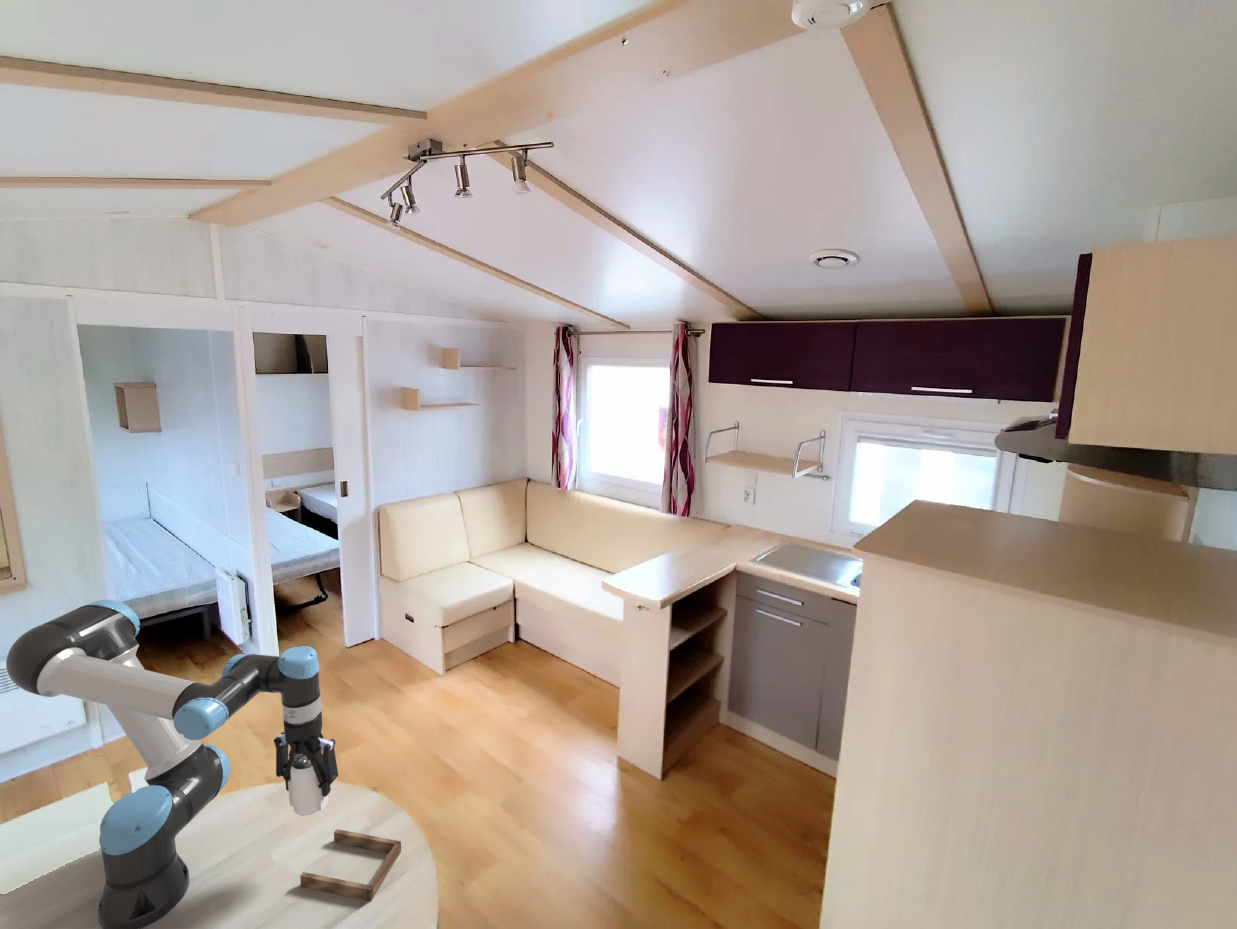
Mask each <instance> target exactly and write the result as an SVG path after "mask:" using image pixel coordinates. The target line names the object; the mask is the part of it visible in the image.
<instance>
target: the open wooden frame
mask: <svg viewBox="0 0 1237 929" xmlns="http://www.w3.org/2000/svg"><path fill="white" fill-rule="evenodd" d="M333 840H334V841H333V842H334V843H335V844H339V845H344V846H350V847H355V848H361V849H366V850H370V851H376V852H381V853H386V854H387V856H386V858H385V859H384V860H383V862H382V863H381V866H380V867H379V869H378V870H377V872H376V874H375V875H374V877H373V878H372V880H371V881H370V883H369V884H364V883H359V882H354V881H350V880H345V879H340V878H336V877H335V878H334V877H330V876H326V875H325V876H324V875H320V874H315V873H310V872H307V871H303V872H302V873H301V874H300V876H299V880H300V887H301V888H305V889H309V890H315V891H319V892H323V893H329V894H333V895H336V896H342V897H346V898H353V899H358V900H362V901H367V902H372V900H373V898H374V897H375V895H376V894H377V892H378V890H379V889H380V888H381V885H382V884H383V882H384V881H385V879H386V877H387V875H389V872H390V871H391V869H392V868H393V866H394V864H395V863H396V861H397V860H398V858H399V856H400V855H401V853H402V841H401V840H395V839H390V838H387V837H386V838H385V837H380V836H376V835H370V834H365V833H359V832H354V831H348V830H344V829H337V828H336V829H335V830H334V832H333Z"/></svg>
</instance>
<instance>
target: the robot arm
mask: <svg viewBox="0 0 1237 929" xmlns="http://www.w3.org/2000/svg"><path fill="white" fill-rule="evenodd" d="M140 625H141V622H140V619H139V617H138V615H137V614H136V612H135V611H134V610H133V609H132V608H131V607H130V606H128V605H127V604H125V603H123V602H121V601H115V600H113V599H100V600H95V601H94V602H91V603H88V604H84V605H82V606H79V607H77V608H76V609H74V610H71V611H70V612H66V613H64V614H63V615H60V616H58V617H56V618H54V619H51V620H49V621H48V622H45V623H43V624H38V625H37V626H35V627H32V628H31V629H28V631H26V632H24V633H23V634H22V635H21V636H19V637H18V638H17V639H16V640H15V642H13V644H12V645H11V647H10V649H9V650H8V653H7V655H6V661H5V665H6V666H5V667H6V672H7V675H8V677H9V678H10V680H11V681H12V682H13V683H14V684H15V686H17V687H18V688H20V689H22V690H24V691H26V692H28V693H31V694H33V695H37V696H42V697H45V698H54V697H57V696H60V695H62V696H63V695H64V696H68V697H72V698H76V699H81V700H84V701H88V702H92V703H98V704H102V705H106V707H107V708H108V710H110V713H111V714H112V716H113V717H114V718H115V720H116V721H117V723H118V724H119V726H120V728H121V729H122V731H123V732H124V733H125V735H126V737H127V738H128V740H129V741H130V742H131V744H132V745H133V747H134V749H135V750H136V751H137V753H138V754H139V757H141V759H142V760H143V763H145V765H146V766H147V770H146V772H145V775H144V777H143V779H144V781H145V782H146V784H147V785H146V786H142V787H139V788H138V789H136V791H134V792H128V793H126V794H125V795H124V796H122V797H120V798H119V799H118V800H116V801H115V802H114V803H113V804H112V805H111V806H110V807H109V809H108V810H107V811H106V812H105V814H104V815H103V818H102V820H101V821H100V826H99V840H98V841H99V842H98V843H99V847H100V850H101V856H102V862H103V870H104V876H105V877H104V878H105V885H104V888H103V893H102V897H101V899H100V901H99V904H98V908H97V909H98V910H97V912H98V914H97V915H98V921H99V925H100V926H101V928H103V929H138V928H139V929H141V928H144V927H146V926H148V925H150V924H152V923H154V922H156V921H158V919H161V918H163V917H164V916H165V915H167V914H168V913H169V912H170V911H171V910H172V909H174V908H175V907H176V906H177V905H178V904H179V903H180V902H181V900H182V899H183V898H184V896H185V894H186V893H187V891H188V889H189V885H190V873H189V872H190V871H189V868H188V865H186V863H185V862H184V860H183V859H182V857H181V856H180V855H179V854H178V852H177V846H176V845H177V844H176V838H177V835H179V833H180V832H181V831H182V830H183V829H184V828H185V827H186V826H187V825H188V824H189V823H191V821H192V820H193V819H194V818H195V817H196V816H197V815H198V814H199V813H200V812H201V811H202V810H203V809H204V808H206V806H207V805H208V804H209V803H211V802H212V801H213V800H214V799H215V798H216V797H217V796H218V795H219V793H220V792H221V791H222V790H223V788H224V787H225V786H226V785H227V783H228V781H229V778H230V775H231V765H230V764H231V763H230V760H229V757H228V756H227V754H226V753H225V752H224V751H223V750H222V749H221V748H220V747H218V748H217V746H216V745H214V744H208V743H207V744H204V743H203V742H202V741H201V740H202V739H205V738H206V737H208V736H209V735H211V734H212V733H214V732H215V731H216V730H217V729H219V728H221V727H222V726H223V725H224V724H225V723H226V722H227V721H228V720H229V719H230V718H231V717H232V716H234V715H235V714H236V713H237V712H238V711H240V709H242V707H244V706H245V705H246V704H247V703H249V702H250V701H251V700H253V699H254V698H255V697H256V696H257V695H258V694H260V693H272V694H275V693H276V694H280V696H281V697H280V698H281V705H282V706H281V707H282V717H283V731H282V732H280V734H278V736H276V737H275V738H274V739H273V743H274V746H275V775H276V777H279V778H280V777H283V780H284V781H285V782H284V783H285V790H286V791H287V792H288V800H289V807H293V799H292V787H291V774H290V770H291V767H292V763H294V762H295V761H296V760H297V759H298V758H299V757H300V755H301V754H304V755H306V757H307V759H308V760H310V761H311V764H312V766H313V769H314V771H315V773H316V776H317V778H318V781H319V784H318V785H317V799H318V811H320V812H322V811H323V810H324V808H325V807H326V806H327V805H328V804H329V801H330V800H329V794H330V793H331V791H332V789H331V785H332V784H333V783H334V782H335V780H336V779H337V778H339V770H338V765H337V759H336V751H335V746H336V740H335V739H334V738H331V739H330V740H328V739H326V738H324V736H323V733H322V730H323V716H322V714H323V713H322V697H321V688H320V664H319V661H318V653H317V651H316V650H315V649H314V648H313V647H312V646H308V645H300V646H293V647H290V648H288V649H286V650H283V651H282V652H281V653H280V654H279V655H277V656H276V655H265V654H259V653H258V654H256V653H247V654H246V653H242V654H241V653H240V654H236V655H234V656H232V657H231V658H229V659H228V660H227V663H226V664H225V665H224V666H223V667H222V671H221V675H220V678H219V679H217V680H216V681H215V682H213V683H212V684H206V683H202V682H197V681H193V680H188V679H184V678H181V677H176V676H173V675H168V674H164V673H160V672H157V671H151V670H147V669H145V668H144V666H143V664H142V663H141V662H140V660H139V658H138V657H137V656H136V655H137V651H138V649H139V647H140V644H139V643H138V641H137V640H136V637H137V635H138V634H139V631H140V630H141V629H140V628H141V627H140ZM289 748H290V749H289ZM318 811H317V812H318Z"/></svg>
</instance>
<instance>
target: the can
mask: <svg viewBox="0 0 1237 929" xmlns="http://www.w3.org/2000/svg"><path fill="white" fill-rule="evenodd" d="M290 774H291V787H292V799H293V806H292V808H293V809H292V810H293V812H294V813H295V814H296V815H298V816H308V815H312V814H314V813H316V812H318V799H317V785H318V784H319V781H318V778H317V776H316V773H315V771H314V769H313V766H312V764H311V761H310V760H308V759H307V757H306V755H304V754H300V757H299V758H298V759H297V760H296V761H295V762H294V763H292V767H291V770H290Z"/></svg>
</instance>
